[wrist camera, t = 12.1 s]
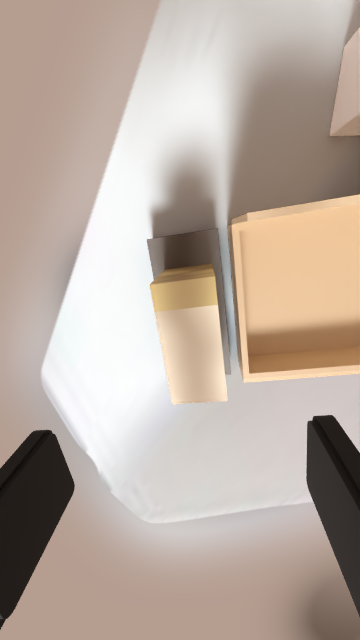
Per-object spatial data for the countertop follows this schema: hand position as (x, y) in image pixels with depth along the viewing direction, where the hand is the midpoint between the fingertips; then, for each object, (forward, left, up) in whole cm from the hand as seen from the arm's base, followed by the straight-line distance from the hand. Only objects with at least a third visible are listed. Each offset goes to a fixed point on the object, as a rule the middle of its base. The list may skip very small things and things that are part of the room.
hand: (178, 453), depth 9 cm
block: (0, 0, -17) cm, 17 cm away
